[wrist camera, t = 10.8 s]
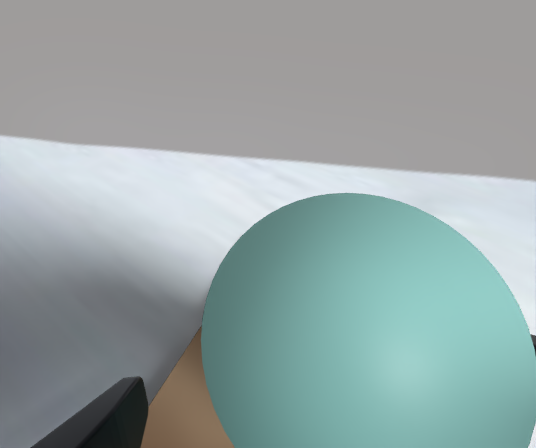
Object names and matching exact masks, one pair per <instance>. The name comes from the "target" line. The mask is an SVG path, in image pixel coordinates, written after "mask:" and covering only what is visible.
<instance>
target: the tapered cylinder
mask: <svg viewBox="0 0 536 448" xmlns="http://www.w3.org/2000/svg"><path fill="white" fill-rule="evenodd" d="M201 349H202V363H203V369H204V374H205V380H206V385H207V388H208V391H209V394H210V397H211V401H212V404H213V407H214V410H215V412H216V414H217V416H218V418H219V420H220V422H221V424H222V427H223V429H224V431H225V433H226V434H227V436H228V437H229V439H230V441H231V442H232V444H233V445H234V447H235V448H528V446H529V444H530V440H531V437H532V433H533V430H534V426H535V422H536V355H535V349H534V346H533V342H532V339H531V335H530V332H529V329H528V326H527V323H526V321H525V318H524V316H523V314H522V311H521V309H520V307H519V305H518V303H517V301H516V299H515V298H514V296H513V294H512V292H511V291H510V289H509V287H508V285H507V284H506V283H505V281H504V280H503V278H502V277H501V276H500V274H499V273H498V271H497V270H496V269H495V267H494V266H493V265H492V264H491V263H490V262H489V261H488V260H487V258H486V257H485V256H484V255H483V254H482V253H481V252H480V251H479V250H478V249H477V248H476V247H475V246H474V245H473V244H472V243H470V242H469V241H468V240H467V239H466V238H465V237H464V236H462V235H461V234H460V233H458V232H457V231H456V230H454V229H453V228H452V227H450V226H449V225H447V224H446V223H444V222H442V221H441V220H439V219H437V218H436V217H434V216H432V215H430V214H428V213H426V212H424V211H422V210H420V209H418V208H416V207H413V206H410V205H408V204H405V203H402V202H400V201H396V200H392V199H388V198H385V197H380V196H374V195H368V194H356V193H337V194H326V195H320V196H314V197H310V198H306V199H303V200H299V201H296V202H294V203H291V204H289V205H286V206H284V207H281V208H280V209H278V210H276V211H274V212H272V213H270V214H268V215H267V216H266V217H264V218H263V219H261V220H260V221H258V222H257V223H256V224H254V225H253V226H252V227H251V228H250V229H249V230H248V231H247V232H245V233H244V234H243V235H242V236H241V237H240V239H239V240H238V241H237V242H236V243H235V244H234V246H233V247H232V248H231V249H230V251H229V252H228V254H227V255H226V257H225V258H224V260H223V261H222V263H221V264H220V266H219V269H218V271H217V273H216V275H215V277H214V279H213V281H212V284H211V287H210V290H209V293H208V296H207V299H206V304H205V309H204V314H203V318H202V332H201Z"/></svg>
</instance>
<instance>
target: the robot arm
mask: <svg viewBox="0 0 536 448" xmlns="http://www.w3.org/2000/svg"><path fill="white" fill-rule="evenodd" d="M530 335H531V339H532V342H533V346H534V349H535V355H536V336H535V335H532V334H530ZM148 410H149V408H148V401H147V396H146V392H145V387H144V382H143V380H142V378H141V377H139V376H136V377H127V378H123V379H121V380H120V381H119V382H117V383H116V384H115V385H113V386H112V387H111V388H109V389H108V390H107V391H105V392H104V393H103V394H101V395H100V396H99V397H97V398H96V399H95V400H93V401H92V402H91V403H89V404H88V405H87V406H85V407H84V408H83V409H81V410H80V411H79V412H77V413H76V414H75V415H74V416H72V417H71V418H70V419H68V420H67V421H66V422H64V423H63V424H62V425H60V426H59V427H58V428H56V429H55V430H54V431H52V432H51V433H50V434H48V435H47V436H46V437H44V438H43V439H42V440H40V441H39V442H38V443H36V444H35V445H34V446H32V447H31V448H141V444H142V439H143V435H144V431H145V426H146V422H147V418H148Z"/></svg>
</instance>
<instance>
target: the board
mask: <svg viewBox="0 0 536 448" xmlns="http://www.w3.org/2000/svg"><path fill="white" fill-rule="evenodd" d="M201 332H202V326H201V327H200V329H199V330H198V332H197V333H196V335H195V336H194V338H193V339H192V341H191V342H190V344H189V346H188V347H187V349H186V350H185V352H184V353H183V355H182V356H181V358H180V359H179V361H178V362H177V364H176V365H175V367H174V369H173V370H172V372H171V373H170V375H169V376H168V378H167V379H166V381H165V382H164V384H163V385H162V387H161V388H160V390H159V392H158V393H157V395H156V396H155V398H154V399H153V401H152V402H151V404H150V405H149V407H148V408H149V410H148V418H147V422H146V426H145V431H144V435H143V439H142V444H141V448H235V447H234V445H233V444H232V442H231V441H230V439H229V437H228V436H227V434H226V433H225V431H224V429H223V427H222V424H221V422H220V420H219V418H218V416H217V414H216V412H215V410H214V407H213V404H212V401H211V397H210V394H209V391H208V388H207V385H206V380H205V374H204V369H203V363H202V349H201Z"/></svg>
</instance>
